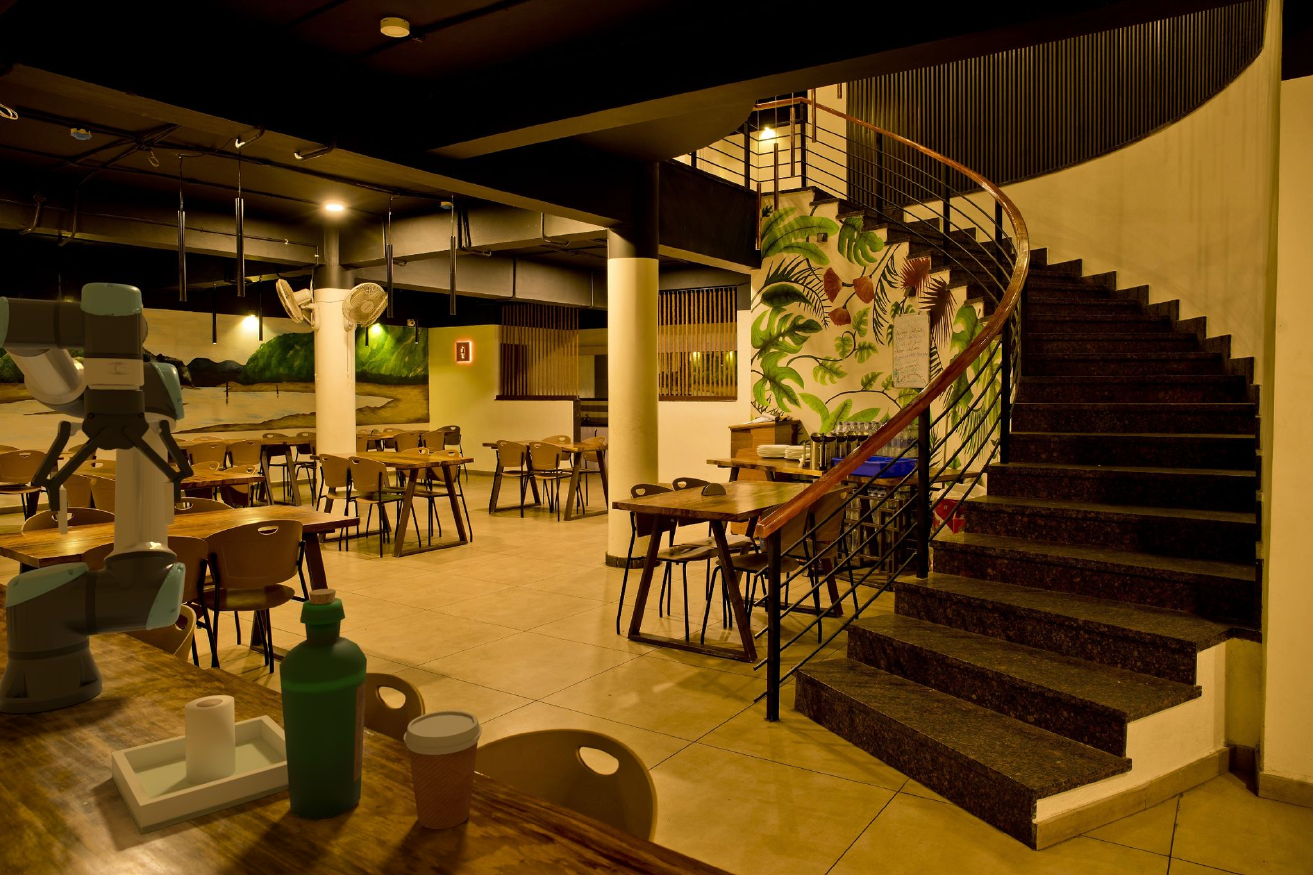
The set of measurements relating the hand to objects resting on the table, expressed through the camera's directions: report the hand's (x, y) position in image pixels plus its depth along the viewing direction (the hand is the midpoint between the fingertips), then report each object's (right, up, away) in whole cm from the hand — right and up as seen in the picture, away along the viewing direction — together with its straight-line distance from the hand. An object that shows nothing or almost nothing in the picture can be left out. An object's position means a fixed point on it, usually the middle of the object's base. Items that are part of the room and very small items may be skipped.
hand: (118, 528), depth 122 cm
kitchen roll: (+20, -33, -10) cm, 40 cm away
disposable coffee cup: (+55, -34, -20) cm, 68 cm away
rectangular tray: (+20, -34, -10) cm, 41 cm away
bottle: (+39, -34, -18) cm, 55 cm away
